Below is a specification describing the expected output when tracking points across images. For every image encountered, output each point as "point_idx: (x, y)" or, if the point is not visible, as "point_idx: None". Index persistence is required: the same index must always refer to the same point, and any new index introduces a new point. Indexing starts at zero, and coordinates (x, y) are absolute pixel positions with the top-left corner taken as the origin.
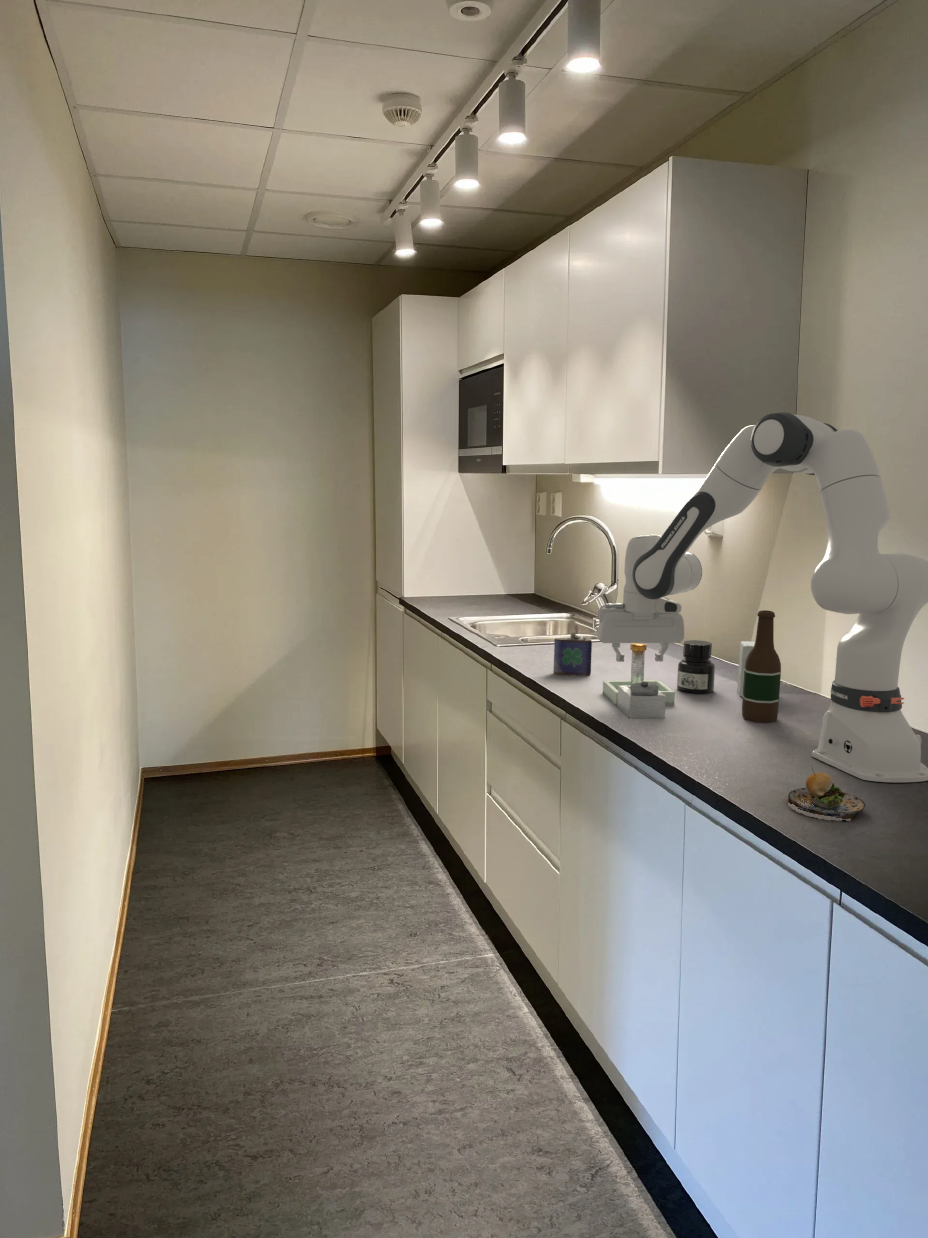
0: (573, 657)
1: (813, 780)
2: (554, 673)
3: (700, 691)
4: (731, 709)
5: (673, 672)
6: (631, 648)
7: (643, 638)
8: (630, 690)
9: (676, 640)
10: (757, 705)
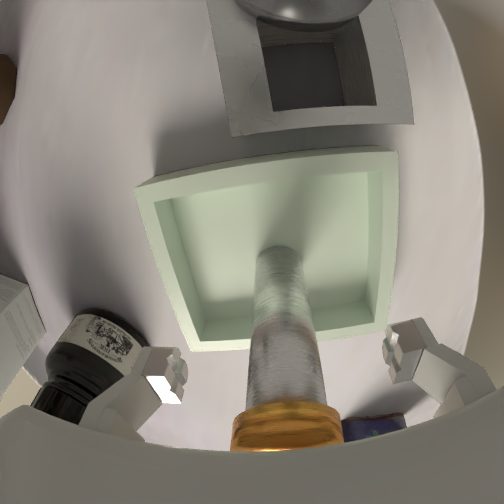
0: None
1: None
2: (402, 414)
3: (90, 310)
4: (25, 160)
5: (173, 434)
6: (340, 422)
7: (271, 489)
8: (366, 22)
9: (29, 418)
10: None
